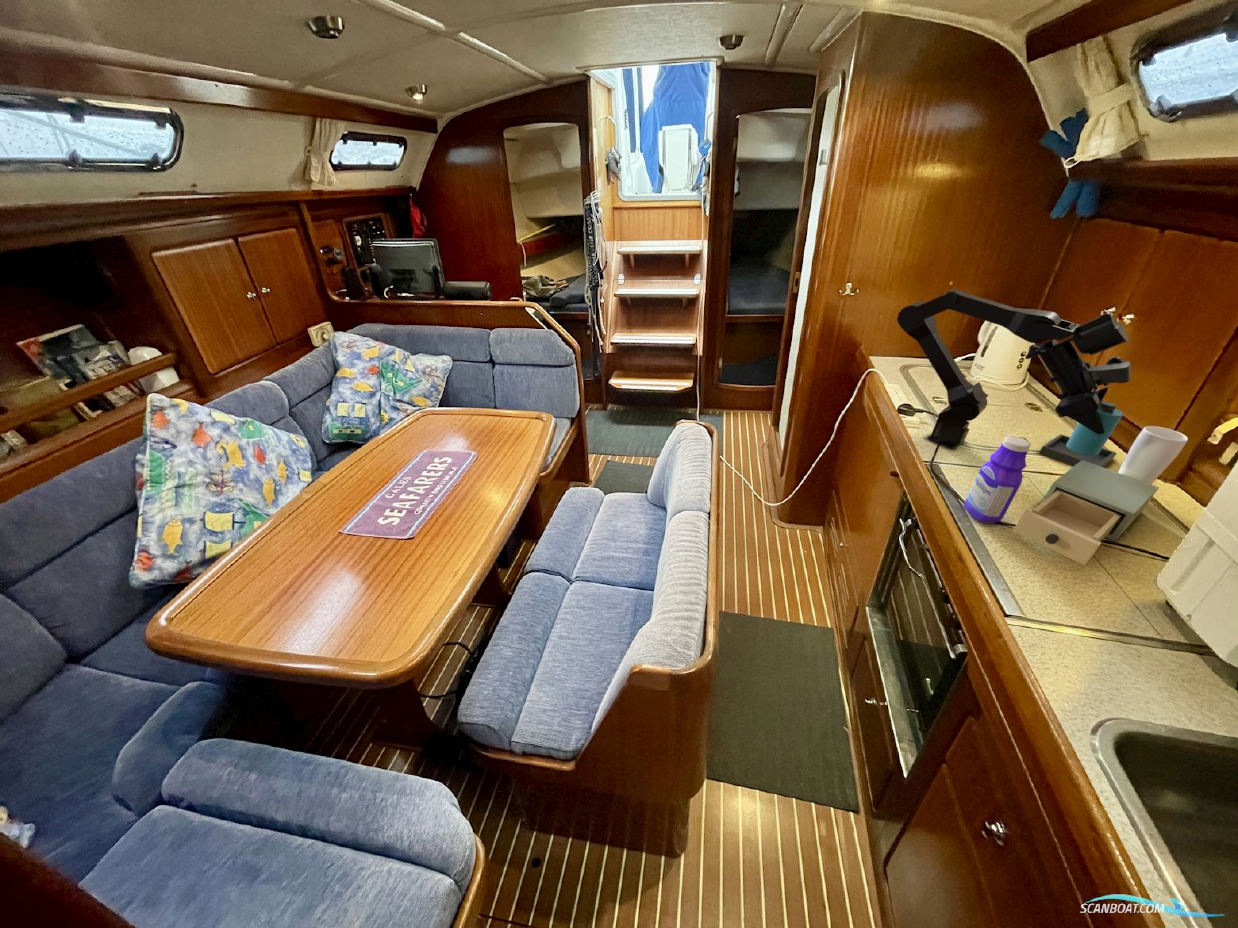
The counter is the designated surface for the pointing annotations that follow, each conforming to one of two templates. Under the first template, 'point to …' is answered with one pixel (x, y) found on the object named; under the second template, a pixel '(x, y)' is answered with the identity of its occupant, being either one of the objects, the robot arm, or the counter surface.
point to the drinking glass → (1152, 453)
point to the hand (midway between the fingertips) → (1103, 429)
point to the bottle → (998, 481)
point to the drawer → (1067, 525)
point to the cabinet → (1106, 492)
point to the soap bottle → (1089, 440)
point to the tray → (1074, 453)
